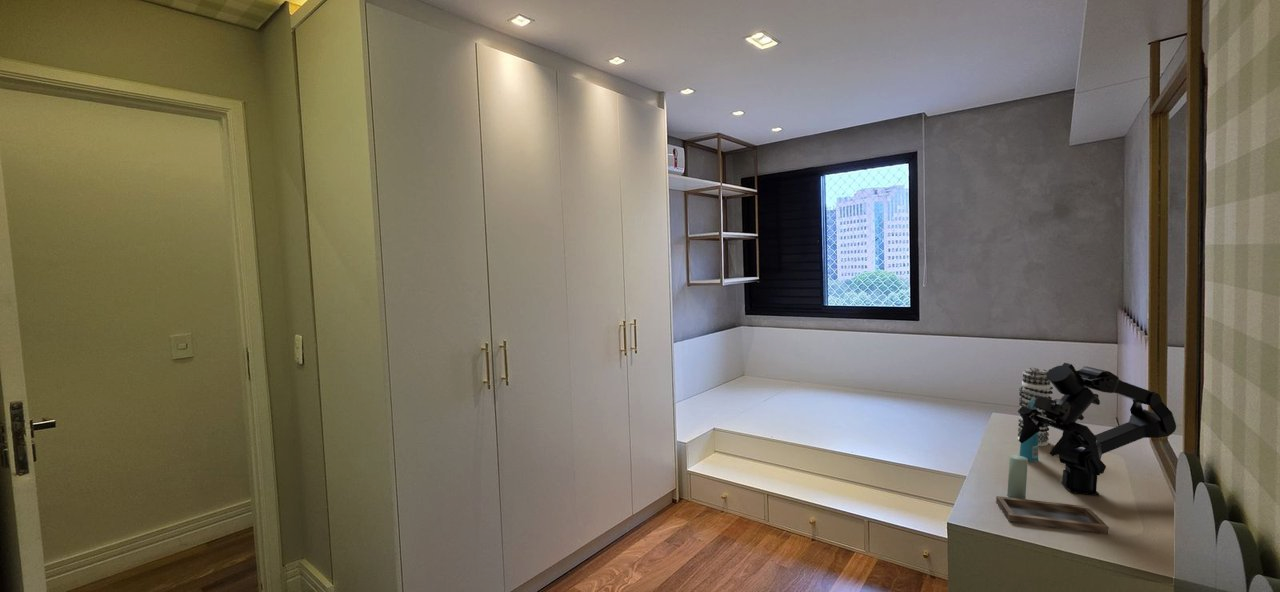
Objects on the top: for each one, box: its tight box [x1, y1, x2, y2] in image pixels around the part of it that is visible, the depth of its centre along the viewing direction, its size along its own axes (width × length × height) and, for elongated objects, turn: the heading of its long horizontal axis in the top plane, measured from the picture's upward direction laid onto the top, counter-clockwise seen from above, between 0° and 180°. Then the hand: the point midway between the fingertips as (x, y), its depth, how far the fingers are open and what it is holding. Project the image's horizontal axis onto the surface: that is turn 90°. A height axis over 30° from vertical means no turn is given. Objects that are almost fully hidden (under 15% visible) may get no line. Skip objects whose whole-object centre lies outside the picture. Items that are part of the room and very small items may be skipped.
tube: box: [1018, 397, 1039, 463], centre depth 169 cm, size 7×5×19 cm, turn 140°
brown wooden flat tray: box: [995, 495, 1110, 535], centre depth 135 cm, size 20×10×2 cm, turn 72°
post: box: [1006, 454, 1029, 499], centre depth 145 cm, size 4×4×11 cm
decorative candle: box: [1017, 367, 1054, 447], centre depth 184 cm, size 9×9×25 cm
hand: (1035, 448), depth 145 cm, fingers open, 9 cm apart
